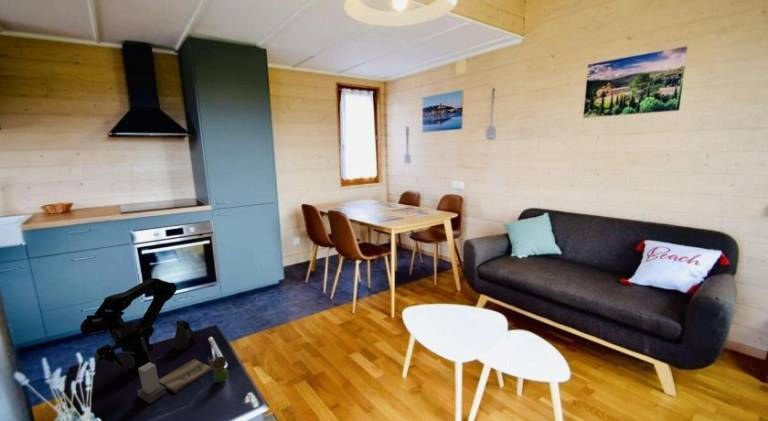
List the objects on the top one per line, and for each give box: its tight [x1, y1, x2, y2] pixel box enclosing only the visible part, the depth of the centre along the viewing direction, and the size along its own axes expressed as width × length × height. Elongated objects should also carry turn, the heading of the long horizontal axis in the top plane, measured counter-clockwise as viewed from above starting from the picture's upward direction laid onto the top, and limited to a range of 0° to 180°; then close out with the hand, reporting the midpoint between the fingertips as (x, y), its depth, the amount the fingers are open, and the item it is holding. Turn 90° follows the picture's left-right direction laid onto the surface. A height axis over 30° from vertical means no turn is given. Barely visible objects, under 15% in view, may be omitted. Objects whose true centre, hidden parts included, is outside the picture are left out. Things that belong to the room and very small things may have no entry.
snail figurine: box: [207, 356, 230, 384], centre depth 134 cm, size 5×6×12 cm
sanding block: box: [136, 362, 168, 404], centre depth 128 cm, size 8×6×12 cm
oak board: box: [158, 358, 213, 394], centre depth 139 cm, size 12×15×1 cm
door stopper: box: [172, 318, 200, 352], centre depth 160 cm, size 9×6×12 cm, turn 148°
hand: (136, 360), depth 130 cm, fingers open, 9 cm apart
